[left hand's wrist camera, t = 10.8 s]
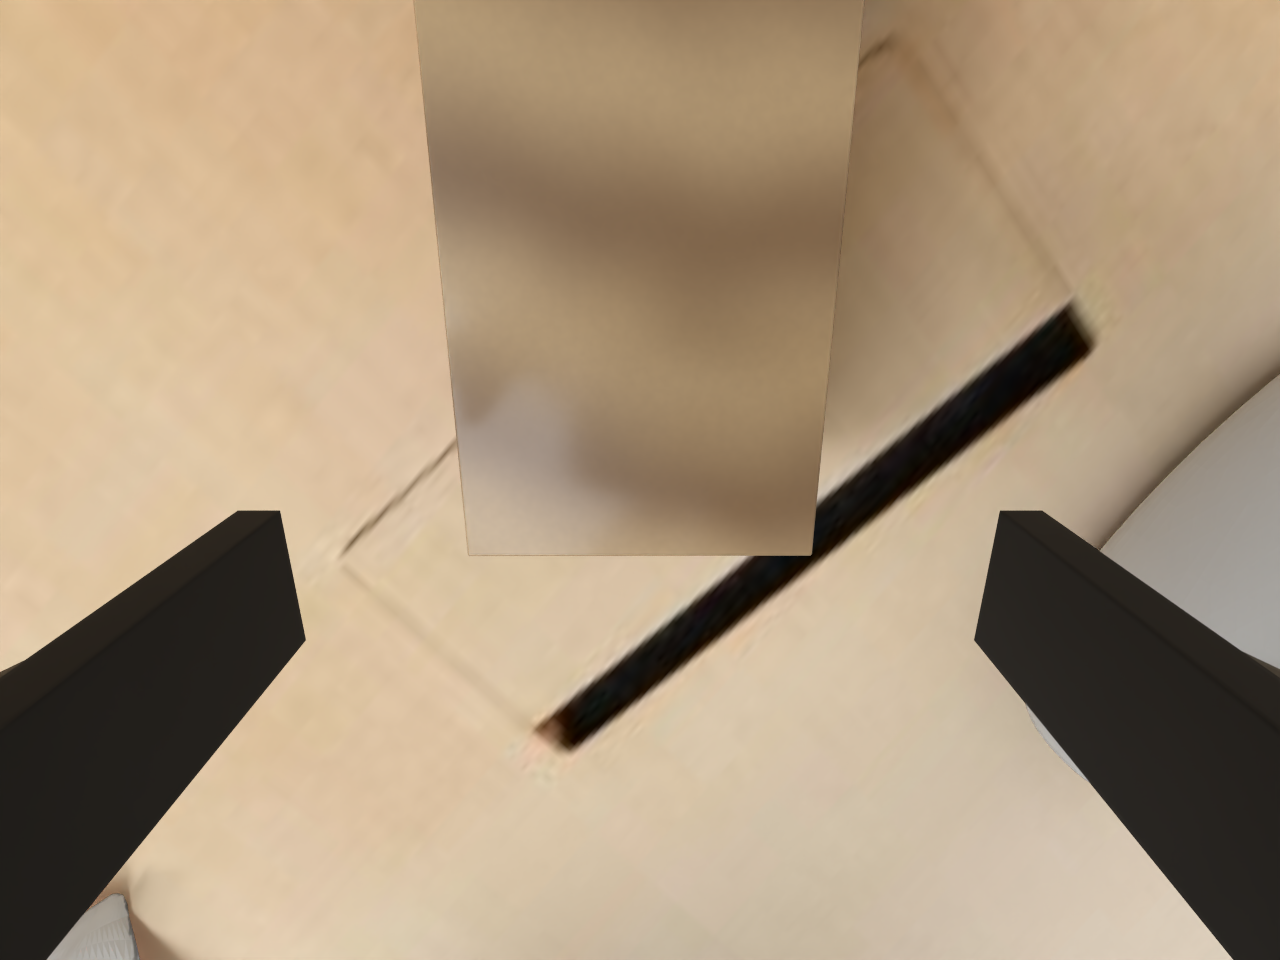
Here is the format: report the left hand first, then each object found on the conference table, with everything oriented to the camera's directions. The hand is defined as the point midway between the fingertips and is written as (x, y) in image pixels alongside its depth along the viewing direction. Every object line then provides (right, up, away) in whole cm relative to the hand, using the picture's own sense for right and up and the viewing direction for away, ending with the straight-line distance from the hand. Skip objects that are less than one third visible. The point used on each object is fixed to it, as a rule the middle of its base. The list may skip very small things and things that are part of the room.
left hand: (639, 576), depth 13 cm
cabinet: (0, +12, +14) cm, 19 cm away
